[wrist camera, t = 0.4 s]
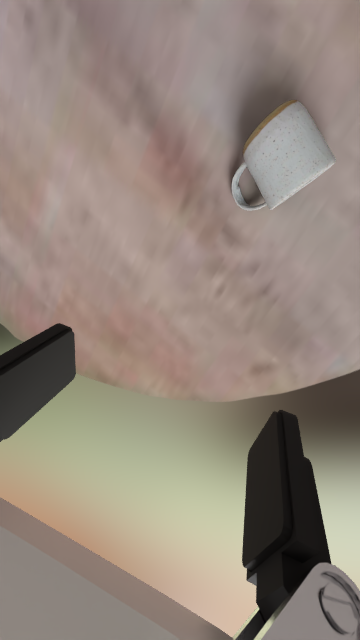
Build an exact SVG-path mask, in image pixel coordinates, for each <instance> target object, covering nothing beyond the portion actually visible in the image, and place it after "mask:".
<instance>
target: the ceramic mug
mask: <svg viewBox="0 0 360 640" xmlns="http://www.w3.org/2000/svg"><path fill="white" fill-rule="evenodd" d="M243 157H244V160H245V162H244V163H243V164H242V165H241V166H240V167H239V168H238V170H237V171H236V173H235V175H234V177H233V180H232V195H233V198H234V200H235V202H236V203H237V205H238V206H239V207H240V208H242V209H244V210H250V211H253V210H257V209H260V208H262V207H264V206H266V205H268V207H269V209H270V210H272V209H273V208H275V207H276V206H278V205H279V204H281V203H282V202H284V201H285V200H287V199H288V198H289V197H291V196H292V195H294V194H295V193H296V192H298V191H299V190H300V189H302V188H303V187H305V186H306V185H307V184H309V183H310V182H311V181H313V180H314V179H315V178H317V177H318V176H319V175H321V174H322V173H324V172H325V171H326V170H327V169H329V168H330V167H331V166H332V165H333V164H335V162H336V159H335V157H334V155H333V154H332V152H331V150H330V149H329V147H328V145H327V143H326V142H325V140H324V138H323V136H322V135H321V133H320V132H319V130H318V128H317V127H316V125H315V123H314V121H313V119H312V118H311V116H310V114H309V112H308V111H307V110H306V108H305V107H304V106H303V105H302V104H301V103H300V102H299V101H297V100H290V101H287V102H285V103H284V104H282V105H280V106H279V107H278V108H276V109H275V110H274V111H273V112H272V113H271V114H269V115H268V116H267V117H266V118H265V119H264V120H263V121H262V122H261V123H260V124H259V126H258V127H257V128H256V129H255V130H254V131H253V133H252V134H251V135H250V137H249V138H248V140H247V141H246V143H245V145H244V149H243ZM246 167H247V168H248V170H249V172H250V173H251V175H252V177H253V178H254V180H255V182H256V184H257V186H258V188H259V190H260V192H261V194H262V196H263V198H264V200H265V203H263V204H260V205H257V206H250V205H248V204H247V203H246V202H245V201H244V198H243V196H242V194H241V191H240V187H238V182H239V178H240V175H241V174H242V172H243V171H244V169H245V168H246Z"/></svg>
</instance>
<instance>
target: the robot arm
mask: <svg viewBox="0 0 360 640" xmlns="http://www.w3.org/2000/svg"><path fill="white" fill-rule="evenodd" d="M75 374H76V369H75V343H74V333H73V332H72V329H71V328H70V327H68V326H65V325H63V324H60V323H59V324H56V325H54V326H52V327H50V328H48V329H47V330H45V331H43V332H41V333H39V334H38V335H36V336H34V337H32V338H31V339H29V340H27V341H25V342H23V343H22V344H20V345H18V346H16V347H14V348H13V349H11V350H9V351H7V352H5V353H4V354H2V355H0V442H1V441H2V440H3V439H7V438H9V437H10V436H11V435H12V434H14V433H15V432H16V431H17V430H18V429H19V428H20V427H21V426H22V425H23V424H25V423H26V422H27V421H28V420H29V419H30V418H31V417H32V416H34V415H35V414H36V413H37V412H38V411H39V410H40V409H41V408H42V407H43V406H44V405H46V404H47V403H48V402H49V401H50V400H51V399H52V398H53V397H55V396H56V395H57V394H58V393H59V392H60V391H61V390H62V389H63V388H64V387H66V386H67V385H68V384H69V383H70V382H71V381H72V380H73V379H74V377H75ZM242 561H243V562H242V563H243V566H244V567H245V568H247V581H248V582H250V583H253V584H254V585H256V586H257V588H256V590H257V591H256V593H257V594H256V603H257V605H258V607H257V608H256V609H255V611H254V612H253V613H252V614H251V616H250V617H249V618H248V619H247V620H246V622H245V623H244V624H243V625H242V627H241V628H240V629H239V630H238V632H237V633H236V634H235V635H234V636H233V638H232V637H230V636H229V635H227V634H226V633H225V632H223V631H222V630H220V629H219V628H217V627H216V626H214V625H212V624H211V623H209V622H207V621H206V620H204V619H203V618H201V617H200V616H198V615H196V614H195V613H193V612H191V611H190V610H188V609H187V608H185V607H183V606H182V605H180V604H179V603H177V602H175V601H174V600H172V599H171V598H169V597H168V596H166V595H164V594H163V593H161V592H159V591H158V590H156V589H154V588H152V587H151V586H149V585H147V584H146V583H144V582H142V581H141V580H139V579H137V578H136V577H134V576H132V575H131V574H129V573H127V572H126V571H124V570H122V569H120V568H119V567H117V566H116V565H114V564H112V563H111V562H109V561H107V560H105V559H104V558H102V557H100V556H99V555H97V554H95V553H93V552H92V551H90V550H89V549H87V548H85V547H84V546H82V545H80V544H79V543H77V542H75V541H73V540H72V539H70V538H68V537H67V536H65V535H63V534H62V533H60V532H58V531H56V530H55V529H53V528H51V527H49V526H48V525H46V524H45V523H43V522H41V521H40V520H38V519H36V518H34V517H33V516H31V515H29V514H28V513H26V512H24V511H23V510H21V509H19V508H17V507H16V506H14V505H12V504H11V503H9V502H7V501H5V500H4V499H2V498H0V640H360V591H359V589H358V588H357V586H356V585H355V584H354V582H353V581H352V580H351V579H350V578H349V577H348V576H347V575H346V574H345V573H344V572H343V571H342V570H340V569H339V568H337V567H336V566H334V565H332V564H331V560H330V554H329V549H328V544H327V539H326V534H325V529H324V524H323V519H322V514H321V509H320V504H319V499H318V494H317V489H316V484H315V479H314V474H313V469H312V465H311V462H310V460H309V459H307V458H306V457H304V455H303V449H302V443H301V437H300V431H299V425H298V419H297V417H296V415H293V414H291V413H288V412H285V411H283V410H279V411H278V412H273V413H272V415H271V416H270V418H269V420H268V421H267V423H266V424H265V426H264V428H263V429H262V431H261V432H260V434H259V436H258V438H257V439H256V440H255V442H254V443H253V445H252V447H251V448H250V450H249V454H248V462H247V481H246V499H245V517H244V535H243V555H242Z"/></svg>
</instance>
